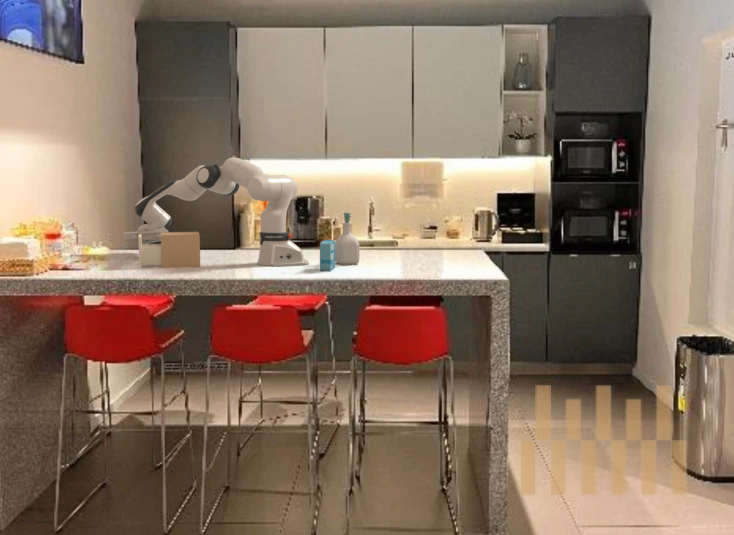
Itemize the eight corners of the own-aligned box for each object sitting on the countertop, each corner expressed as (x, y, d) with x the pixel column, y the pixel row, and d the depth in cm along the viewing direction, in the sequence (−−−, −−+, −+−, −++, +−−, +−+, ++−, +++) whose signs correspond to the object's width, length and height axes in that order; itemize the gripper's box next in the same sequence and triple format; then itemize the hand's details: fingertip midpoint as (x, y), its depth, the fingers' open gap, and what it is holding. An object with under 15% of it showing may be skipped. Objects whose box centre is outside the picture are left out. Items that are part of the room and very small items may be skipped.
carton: (199, 263, 361) (198, 231, 359) (200, 266, 349) (199, 234, 347) (161, 264, 357) (160, 232, 355) (161, 267, 345) (160, 235, 343)
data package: (330, 271, 338) (330, 243, 337) (319, 271, 339) (319, 242, 337) (335, 267, 350) (335, 240, 348) (324, 267, 351) (324, 239, 349)
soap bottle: (340, 265, 357) (340, 213, 353) (333, 263, 365) (333, 212, 362) (360, 264, 360) (361, 213, 357) (353, 262, 369) (353, 211, 366)
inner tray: (177, 260, 363) (176, 232, 361) (178, 266, 347) (177, 236, 345) (139, 261, 359) (138, 232, 358) (138, 267, 343) (137, 236, 341)
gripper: (123, 228, 379) (122, 230, 365) (168, 227, 384) (168, 229, 370) (123, 242, 379) (122, 244, 366) (168, 240, 385) (169, 242, 371)
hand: (146, 236), depth 368 cm, fingers open, 8 cm apart
